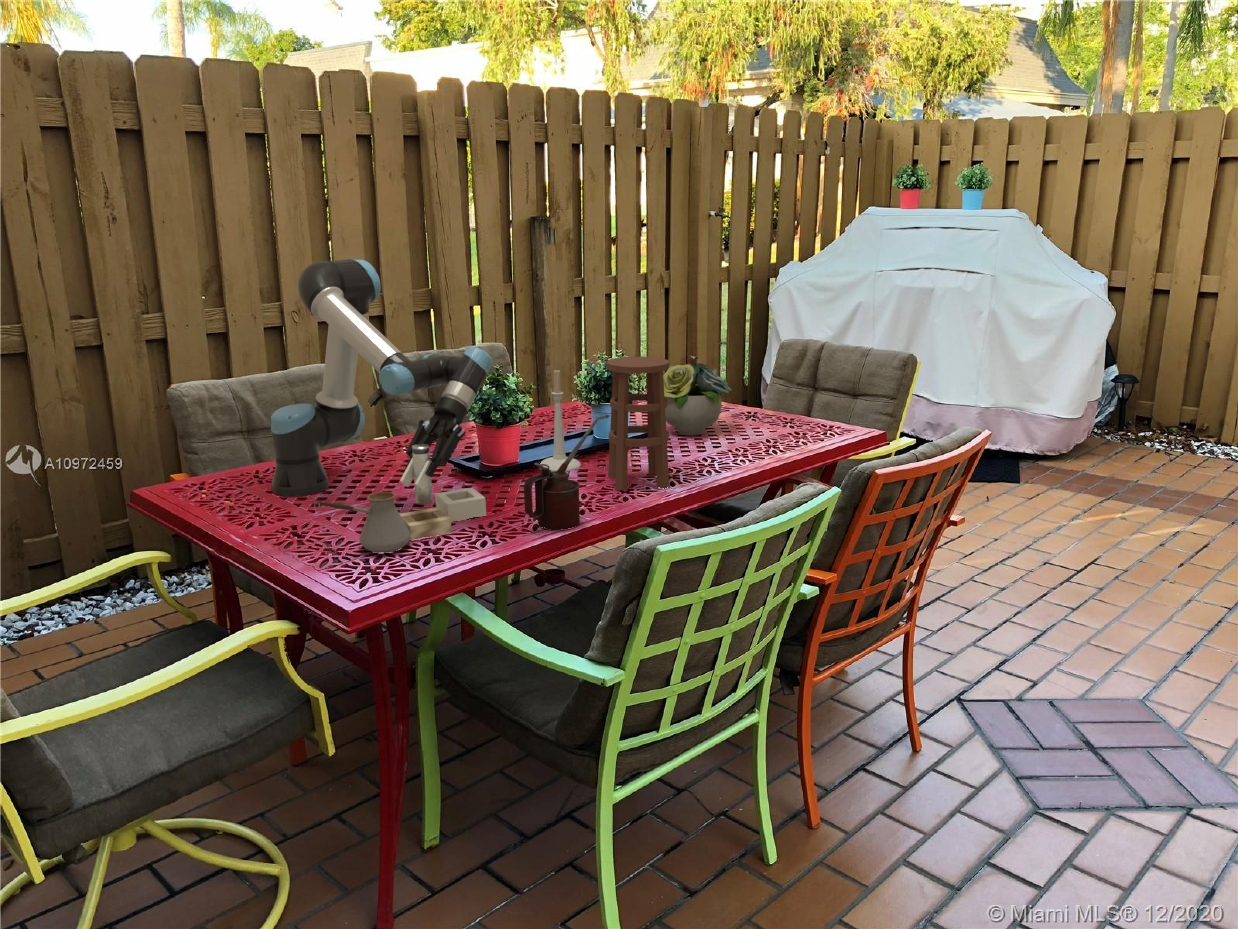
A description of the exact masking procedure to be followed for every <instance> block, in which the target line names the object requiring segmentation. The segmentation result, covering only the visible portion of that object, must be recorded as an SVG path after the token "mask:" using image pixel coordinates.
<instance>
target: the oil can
mask: <svg viewBox="0 0 1238 929" xmlns="http://www.w3.org/2000/svg"><path fill="white" fill-rule="evenodd" d="M605 418H606V419H608V418H611V415H608V414H605V415H599V416H598V417H596V419H594V421H593V422H592V424H590V426H589V427H588V429H587V431H585V433H584V434H583V436H582V437H581V438H580V440H579V441H578V443H577V444H576V445H575V446H574V448H573V449H572V451H571V452H570V454H569V455H568V456H567V457H568V458H567V459H566V460H565V462H564V463H562V465H561V466H560V467H559V469H558V470H557V471H553V472H552V471H551V470H550V469H549V466H548V465H546V464H539V463H540V462H535V463H534V466H536V467H537V468H538V469H540V468H541V469H540V472H541V473H540V474H536V475H534V476H533V475H532V476H530V477H527V478H526V479H525V481H524V483H523V500H524V501H523V503H524V505H523V506H524V513H525V514H526V515H527V516H529V517H533V518H537V525H538V524H539V526H540V528H541V527H543V528H544V527H545V528H547V529H551V530H550V531H553V530H561V529H568V528H572V527H575V526H577V525H578V524H579V525H580V523H581V522H580V518H581V517H580V513H581V512H580V486H581V484H580V482H578V481H575V480H574V479H569V473H568V472H565V471H566V469H567V467H568V465H569V463H570V462H571V460H572V459H573V458H574V457H575V455H577V453H578V451H579V450H580V448H581V447H582V445H583V444H584V443H585V441H586V439H588V438H587V437H588V436H589V435H590V433H591V432H592V431H593V429H594V427H595V425H596V424H597V423H598V421H599V420H602V419H605ZM543 465H544V466H547V467H548V468H546V467H544V466H543ZM533 486H534V500H535V501H534V502H535V507H533V506H534V505H533ZM533 508H535V509H534V511H533ZM579 525H578V526H579ZM539 526H538V527H539ZM578 526H577V527H578ZM543 528H542V529H543ZM575 528H576V527H575ZM572 529H573V528H572ZM568 530H569V529H568ZM561 531H562V530H561Z"/></svg>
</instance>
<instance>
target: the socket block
mask: <svg viewBox="0 0 1238 929" xmlns="http://www.w3.org/2000/svg"><path fill="white" fill-rule="evenodd" d="M399 514H400V516H401V517H402V519H403V521H404V523H405V525H406V526H407V528H408V530H409V532H410V540H413V539H418V538H422V537H430V536H435V535H440V534H449V533H452V523H451V519H450V518H449V517H448V516H447V515H446V514H445V513H443V512H442V511H441V510H440V509H439V508H438V507H436V506H435V507H431V508H426V509H420V510H414V511H407V512H403V513H402V512H401V513H399ZM410 540H409V541H410Z"/></svg>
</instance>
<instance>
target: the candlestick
mask: <svg viewBox="0 0 1238 929" xmlns="http://www.w3.org/2000/svg"><path fill="white" fill-rule="evenodd" d="M561 380H562V378H561V370H558V369H556V370H553V389H554V390H553V392H551V395H553V396H552V397H553V400H554V420H553V421H554V425H553V426H554V427H553V429H554V430H553V456H551V457H547V458H544V459H543V460H542V461H540V462H541V463H540V462H539V463H540V464H546V465H548V466H549V469H550V470H551V471H552V472H553V471H557V470H558V469H559V467H560V466H561V465H562V463H564V462H565V460H566V459H567V458H568V456H567V455H566V448H565V447H566V446H565V435H564V422H563V411H562V404H561V402H562V399H563V394H564V392H563V391H562V388H561V387H562V386H561V384H562V383H561V382H562V381H561ZM581 465H582V464H581V462H580V461H579V460H578V459H576V458H574V457H573V459H572V460H571V462H570V463H569V465H568V467H567V469H566V471H565V472H567V473H568V472H572V470H573V471H576V470H579V468H581V467H582V466H581ZM543 466H544V465H543ZM580 466H581V467H580ZM544 467H546V468H548V467H547V466H544ZM575 469H576V470H575ZM539 470H541V468H539Z"/></svg>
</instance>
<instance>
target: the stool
mask: <svg viewBox="0 0 1238 929" xmlns="http://www.w3.org/2000/svg"><path fill="white" fill-rule="evenodd" d="M605 364H606V365H605V366H606V369H607V371H610V372H612V385H611V386H612V387H611V388H612V389H611V398H610V399H609V407H610V409H611V410H610V426H609V429H610V430H609V432H608V440H609V449H608V450H609V452H608V471H607V473H608V474H607V475H608V476H607V478H608V477H609V478H613V479H615V480H614V491H615V490H626V489H627V490H628V467H629V466H628V465H629V464H628V462H629V459H628V456H629V453H628V452H629V449H628V448H631V447H632V448H646V447H647V458H648V459H647V460H648V461H647V464H648V477H651V476H657V477H656V488H657V487H660V488H664V489H665V488H667V487H668V486H669V487H670V476H669V473H670V472H669V459H668V458H669V455H668V442H669V440H670V433H669V431H668V430H667V422H666V415H665V408H667V399H666V398H665V396H664V378H663V375H664V372H665V371H667V370H668V369H669V367H670V360H668V359H665V358H661V357H655V356H623V357H615V358H611V359H608V360H607V361H605ZM630 374H640V375H641V374H646V393H630V391H629V388H630V382H629V381H630ZM635 401H636V402H646V404H630V403H629V402H635ZM629 413H646V415H647V418H646V420H647V425H629ZM629 434H647V438H629ZM613 479H612V480H613ZM627 490H626V491H627ZM665 490H666V489H665Z"/></svg>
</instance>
